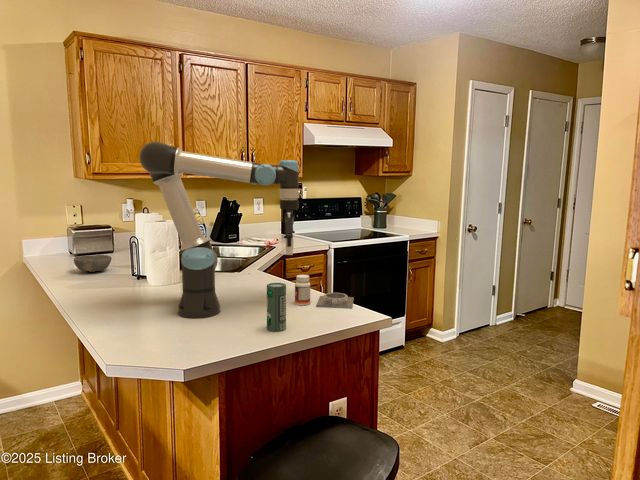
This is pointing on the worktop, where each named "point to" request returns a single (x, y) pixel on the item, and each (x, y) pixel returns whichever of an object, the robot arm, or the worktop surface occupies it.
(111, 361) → the worktop surface
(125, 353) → the worktop surface
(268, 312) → the can
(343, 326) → the worktop surface
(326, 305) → the duct flange
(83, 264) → the bowl
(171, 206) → the robot arm
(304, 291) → the pill bottle
